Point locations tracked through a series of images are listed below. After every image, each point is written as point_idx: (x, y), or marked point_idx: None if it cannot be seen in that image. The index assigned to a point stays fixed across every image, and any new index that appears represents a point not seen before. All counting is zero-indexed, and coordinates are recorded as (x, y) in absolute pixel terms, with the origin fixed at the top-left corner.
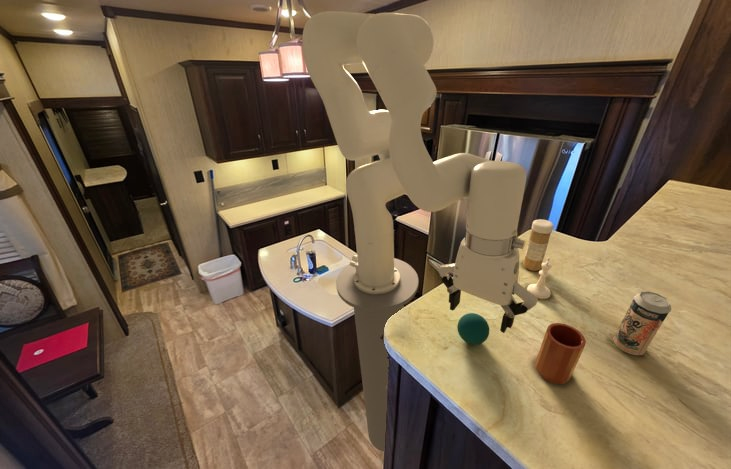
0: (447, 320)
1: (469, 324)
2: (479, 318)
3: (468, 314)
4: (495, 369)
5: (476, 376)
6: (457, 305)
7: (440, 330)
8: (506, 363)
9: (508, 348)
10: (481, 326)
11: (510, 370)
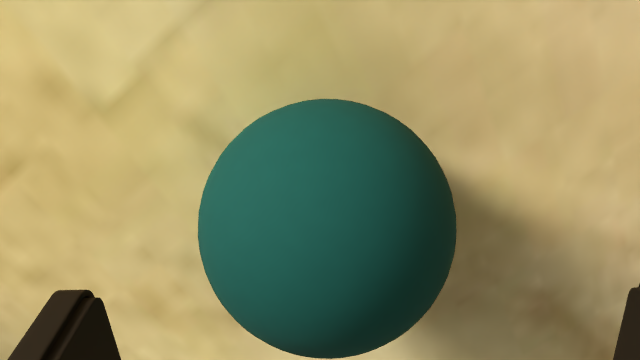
0: (99, 121)
1: (316, 355)
2: (360, 285)
3: (247, 276)
4: (536, 271)
5: (460, 354)
6: (114, 342)
7: (131, 227)
8: (586, 201)
9: (577, 82)
10: (407, 315)
11: (616, 229)
